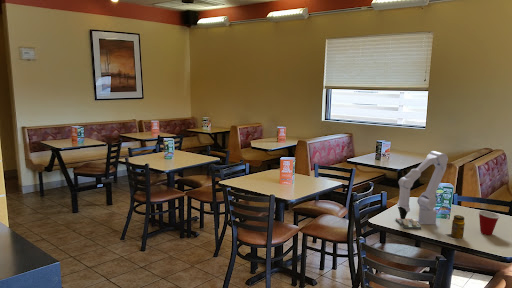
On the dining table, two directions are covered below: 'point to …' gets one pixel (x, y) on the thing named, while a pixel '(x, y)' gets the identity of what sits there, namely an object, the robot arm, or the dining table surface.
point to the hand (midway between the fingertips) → (402, 219)
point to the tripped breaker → (406, 222)
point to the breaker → (414, 221)
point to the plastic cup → (487, 221)
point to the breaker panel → (407, 225)
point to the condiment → (457, 228)
